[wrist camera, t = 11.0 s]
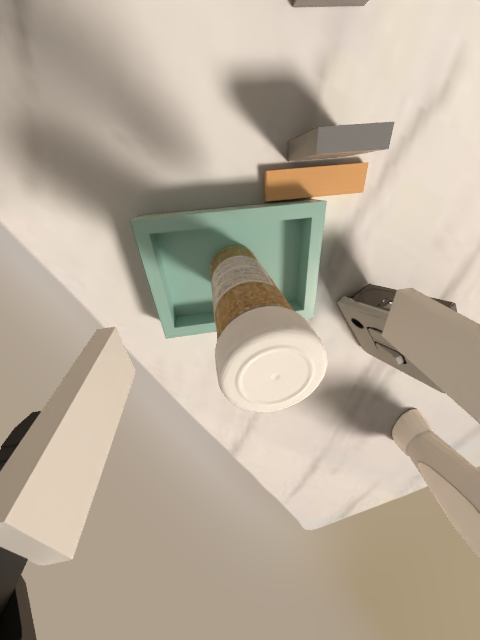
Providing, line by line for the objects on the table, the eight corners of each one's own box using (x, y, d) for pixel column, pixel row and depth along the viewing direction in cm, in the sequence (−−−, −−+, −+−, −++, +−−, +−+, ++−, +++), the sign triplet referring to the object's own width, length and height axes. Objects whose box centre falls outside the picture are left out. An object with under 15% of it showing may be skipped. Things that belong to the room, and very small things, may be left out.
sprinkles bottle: (256, 292, 22) (318, 411, 10) (209, 293, 21) (218, 422, 10) (260, 242, 19) (345, 327, 8) (207, 242, 19) (216, 334, 7)
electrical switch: (333, 298, 24) (408, 347, 16) (374, 267, 23) (474, 302, 15) (361, 349, 29) (431, 407, 21) (396, 324, 28) (482, 374, 20)
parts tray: (138, 215, 18) (129, 220, 15) (312, 199, 19) (326, 201, 17) (169, 324, 23) (165, 338, 21) (303, 305, 24) (313, 317, 22)
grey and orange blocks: (262, -27, 12) (293, -136, 8) (397, -28, 13) (490, -129, 9) (265, 200, 18) (284, 206, 14) (358, 192, 19) (403, 194, 15)
